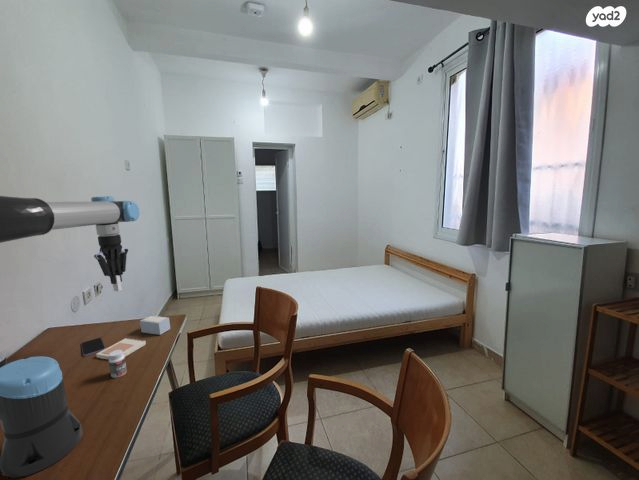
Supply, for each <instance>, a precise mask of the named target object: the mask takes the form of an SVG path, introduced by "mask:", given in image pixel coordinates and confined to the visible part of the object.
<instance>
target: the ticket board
mask: <svg viewBox="0 0 639 480" xmlns="http://www.w3.org/2000/svg"><path fill="white" fill-rule="evenodd" d="M145 345H147V342H146V340H144V339H143V340H142V339H141V340H140V339H136V338H129V337H126V338H123V339H121V340H119V341H118V342H116V343H114V344H112V345H110V346H109V347H105V350H103V351H101V352H98V353H95V356H96V358H97V359H98V358H99V359H102V360H104V359H105V360H108V361H109V359H110V358H109V354H110V353H111V352H113V351H115V350H122V352H123V355H124V357H125V358H126V357H127V356H129V355H131V354H132V353H133V352H136V351H137V350H138V349H140V348H142V347H144V346H145Z"/></svg>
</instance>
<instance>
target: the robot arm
mask: <svg viewBox="0 0 639 480" xmlns="http://www.w3.org/2000/svg"><path fill="white" fill-rule="evenodd" d="M139 217H140V208H139V205H138V204H137V203H136V202H135V201H133V200H121V201H119V200H118V201H117V200H115V198H114V197H113V196H109V195H108V196H93V197H91V201H45V200H44V199H41V198H36V197H33V198H32V197H17V196H16V197H13V196H5V195H0V244H1V243H6V242H12V241H17V240H21V239H26V238H32V237H36V236H37V237H38V236H43V235H44V236H45V235H47V234H49V233H50V232H51V231H54V230H64V229H70V228H71V229H73V228H78V227H87V226H95V230H96V235H97V236H98V237H97V241H98V246H99V252H98V253H97V254H94V257H93V258H95V259H96V260H97V262H98V264H99V266H100V268H101V271H102V274H103V275H104V276H105V277H109V279H110V283H111V285H112V288H113V292H120V291H123V287H122V282H123V278H122V276H123V275H124V273H125V272H126V269H127V268H126V267H127V257H128V256H127V255H128V252H129V249H128V248H124V247H123V245H122V238H121V237H122V236H121V234H120V233H121V231H120V226H119V223H124V222H125V223H129V222H135V221H137V220H138V219H139ZM67 400H68V399H67V395H66V389H65V383H64V378H63V372H62V370H61V368H60V364H59V363H58V361H57V360H56V359H55V358H52V357H49V356H41V355H40V356H30V357H29V356H28V357H27V358H25V359H24V358H21V359H17V360H14V361H12V362H8V360H7V355H6V353H4V352H1V351H0V425H1V429H2V431H3V436H4V440H3V443H2V448H1V451H0V473H1V472H2V473H1V475H2V476H4V477H5V476H7V477H6V478H8V477H11V478H10V479H15V478H17V479H18V478H22V477H23V478H24V477H27V476H30V475H33V474H35V473H38V472H41V471H42V470H45V469H46V468H47V469H48V468H49V467H50V466H52V465H54V464H56V463H57V462H59V461H60V460H62V459H63V458H64V457H65V456H67V455H68V454H69V453H70V452H71V451H73V450H74V448H76V446H77V445H78V444H79V443H80V441H81V439H82V437H83V428H82V423H81V422H80V421H79V420H78V418H77V417H76V416H75V415H74V414H73V413H72V411H71V410H70V409H69V406H68V401H67Z"/></svg>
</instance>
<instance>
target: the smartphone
mask: <svg viewBox="0 0 639 480" xmlns="http://www.w3.org/2000/svg"><path fill="white" fill-rule="evenodd" d="M80 345H81V351H82V355H83V357H88V356H90V355H94V354H95V355H96V354H97V353H99V352H101V351H103V350H105V349H106V346H105V344H104V341H103V339H102V337H98V338H93V339H91V340H87V341H83V342H81V343H80Z"/></svg>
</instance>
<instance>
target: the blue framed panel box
mask: <svg viewBox="0 0 639 480" xmlns="http://www.w3.org/2000/svg"><path fill="white" fill-rule="evenodd" d="M139 324H140V325H139V326H140V330H141V333H144V334H149V335H150V334H151V335H158V336H161V335H163V334H164V333H166V332H167V331H169V330H171V323H170V317H169V316H168V317H167V316H158V315H149V316H147V317H145V318H143V319H141V320H139Z"/></svg>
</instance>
